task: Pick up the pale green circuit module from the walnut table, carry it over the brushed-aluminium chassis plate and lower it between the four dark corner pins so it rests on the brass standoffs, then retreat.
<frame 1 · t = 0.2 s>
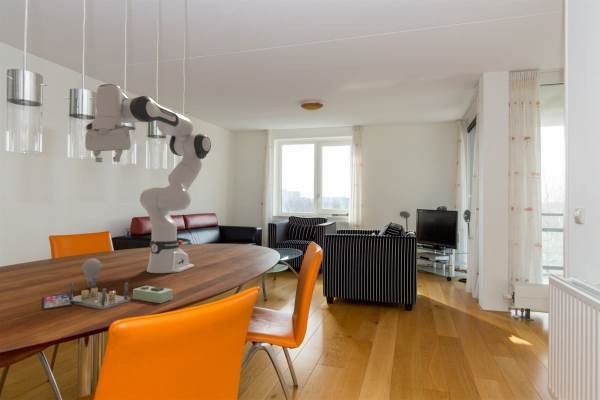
hand: (107, 162, 131), 48 cm above the table, fingers open, 8 cm apart
smartphone: (57, 303, 109), on the table
chassis: (98, 301, 110), on the table
board: (152, 299, 115), on the table
lightbulb: (91, 288, 126), on the table
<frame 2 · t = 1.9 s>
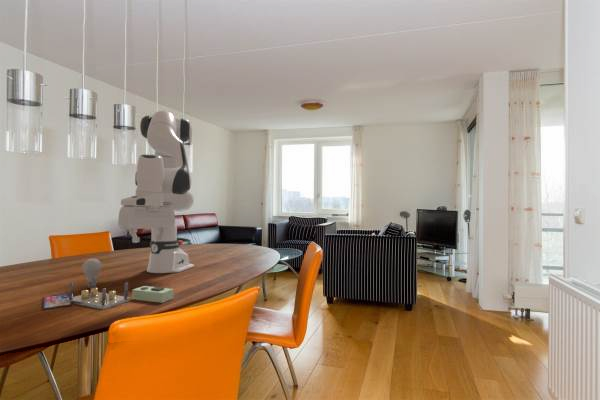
hand: (148, 241, 116), 19 cm above the table, fingers open, 8 cm apart
nothing on the table moved.
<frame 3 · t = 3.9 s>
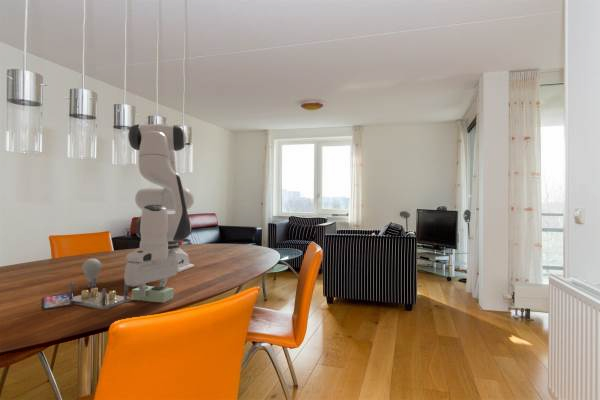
hand: (152, 293, 115), 2 cm above the table, fingers closed on board, 6 cm apart
board: (152, 299, 115), on the table, touching gripper
everything else where it was.
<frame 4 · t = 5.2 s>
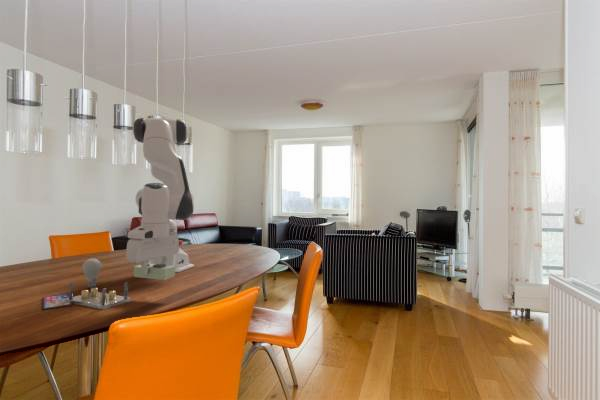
hand: (154, 271, 116), 9 cm above the table, fingers closed on board, 6 cm apart
board: (154, 276, 116), point 7 cm above the table, touching gripper
everything else where it was.
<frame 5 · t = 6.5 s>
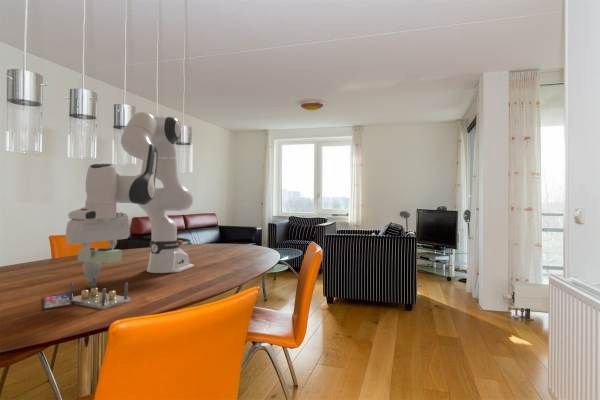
hand: (99, 255, 110), 15 cm above the table, fingers closed on board, 6 cm apart
board: (99, 260, 110), point 13 cm above the table, touching gripper
everything else where it was.
when the fingers open (6 cm above the table, at t = 8.5 s): board drops 1 cm, resting on chassis.
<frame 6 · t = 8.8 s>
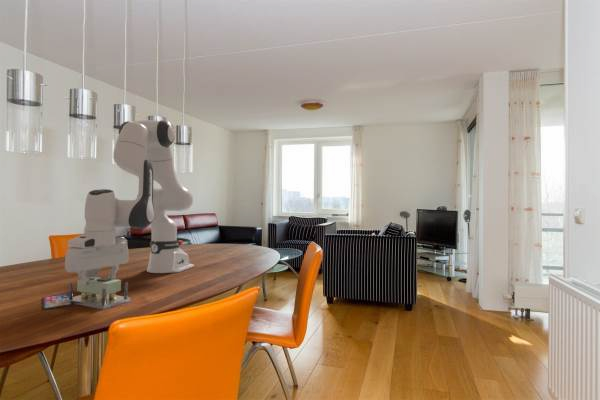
hand: (99, 281, 110), 6 cm above the table, fingers open, 8 cm apart
board: (99, 290, 110), point 3 cm above the table, touching chassis
everything else where it was.
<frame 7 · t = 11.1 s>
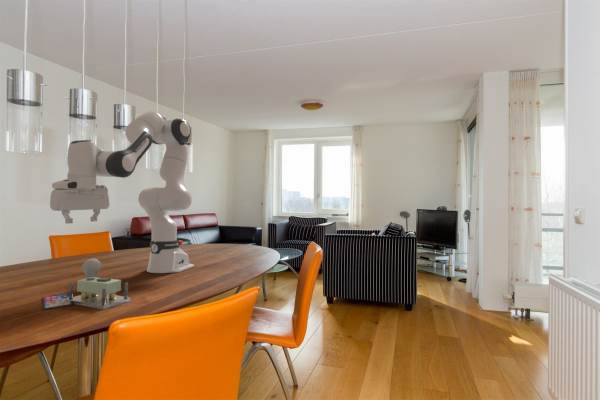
hand: (81, 222, 123), 25 cm above the table, fingers open, 8 cm apart
nothing on the table moved.
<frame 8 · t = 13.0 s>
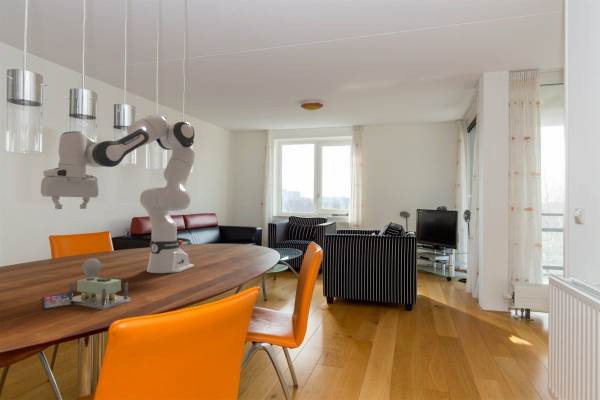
hand: (71, 209, 130), 29 cm above the table, fingers open, 8 cm apart
nothing on the table moved.
at the end: board 0.1 cm off-centre on the chassis, point 3.4 cm above the chassis's base; board tilted 0°; the gripper is holding nothing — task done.
